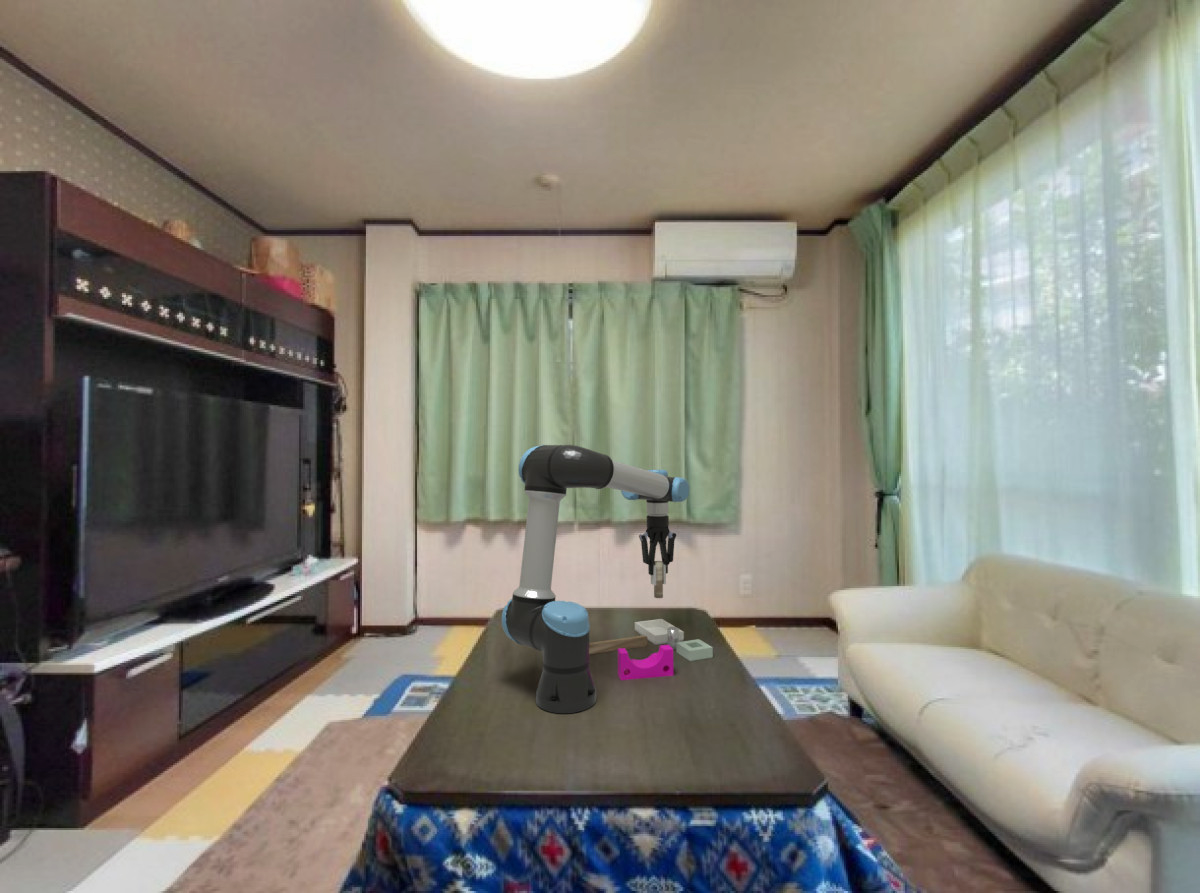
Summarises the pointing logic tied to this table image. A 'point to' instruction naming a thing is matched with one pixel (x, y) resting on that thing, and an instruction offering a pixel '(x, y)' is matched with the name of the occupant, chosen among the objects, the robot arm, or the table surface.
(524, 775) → the table surface
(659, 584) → the dowel
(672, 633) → the cylinder
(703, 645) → the socket
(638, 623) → the tray
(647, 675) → the toy block
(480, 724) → the table surface
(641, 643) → the brown wooden bar
